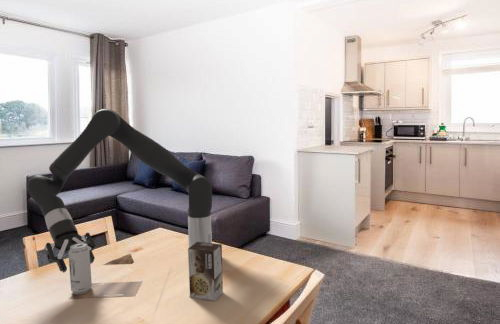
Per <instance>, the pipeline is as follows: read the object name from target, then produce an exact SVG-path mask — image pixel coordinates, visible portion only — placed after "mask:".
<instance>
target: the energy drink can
mask: <svg viewBox="0 0 500 324" xmlns="http://www.w3.org/2000/svg"><path fill="white" fill-rule="evenodd" d="M87 246H88V245H87V243H86V242H84V243H78V244H74V245H72V246H70V250H69V252H68V253H67V254H68V267H69V269H68V270H69V279H70V291H71V292H72V294H73V293H74V294H84V293H86V292H88V291H89V290H90V288H91V287H92V283H93V282H92V268H91V264H90V251H89V248H88V247H87Z"/></svg>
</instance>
